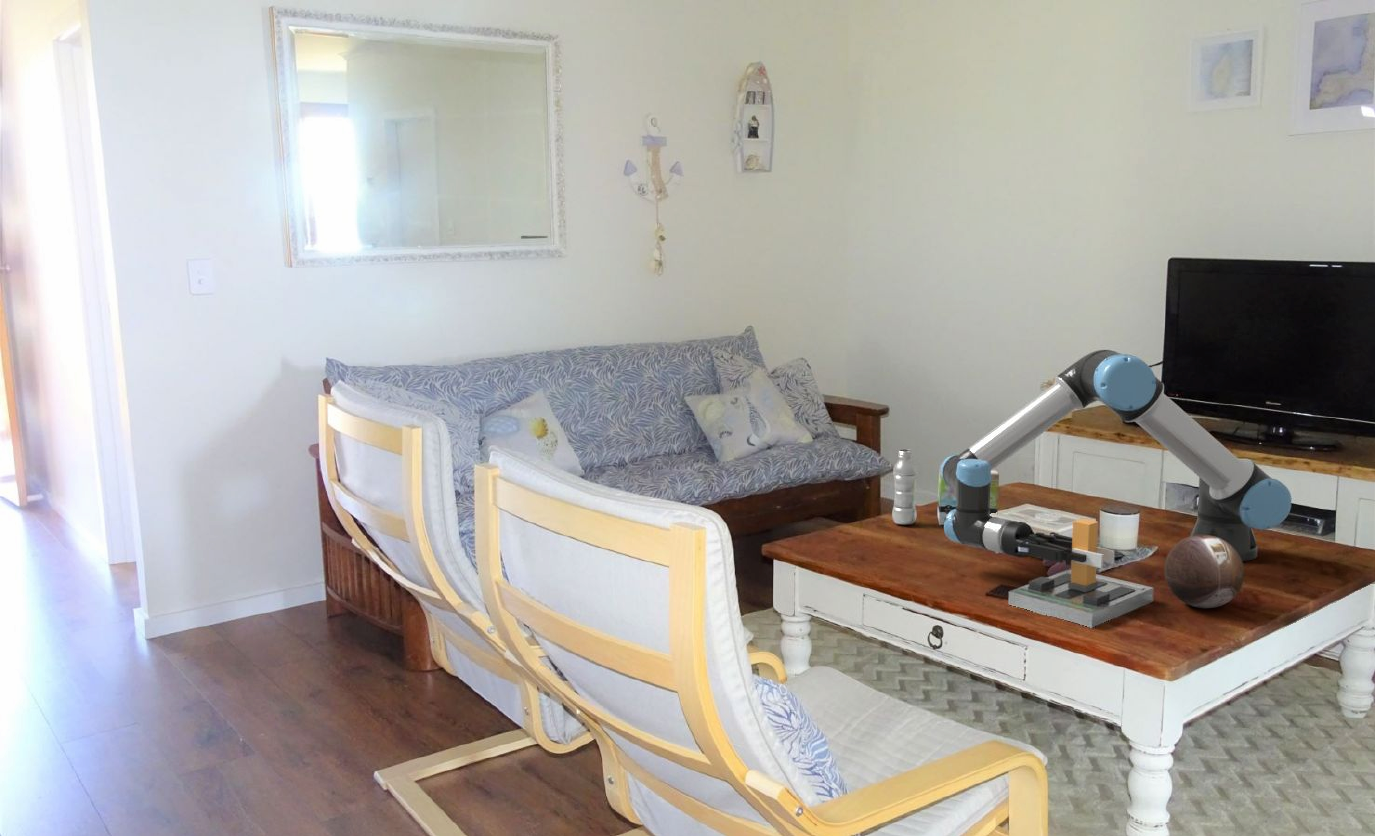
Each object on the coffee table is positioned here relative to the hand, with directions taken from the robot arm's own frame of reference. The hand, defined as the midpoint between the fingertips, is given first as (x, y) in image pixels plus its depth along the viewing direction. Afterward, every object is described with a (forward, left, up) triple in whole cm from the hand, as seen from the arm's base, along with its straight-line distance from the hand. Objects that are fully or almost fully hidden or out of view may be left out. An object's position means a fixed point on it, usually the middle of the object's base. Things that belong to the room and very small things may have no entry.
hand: (1107, 559), depth 234 cm
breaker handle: (+3, -4, -7) cm, 9 cm away
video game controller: (+1, -26, -11) cm, 28 cm away
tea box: (+11, -72, -11) cm, 73 cm away
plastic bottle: (+28, -71, -11) cm, 77 cm away
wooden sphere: (-20, -1, -11) cm, 23 cm away
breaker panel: (+4, -4, -11) cm, 12 cm away
